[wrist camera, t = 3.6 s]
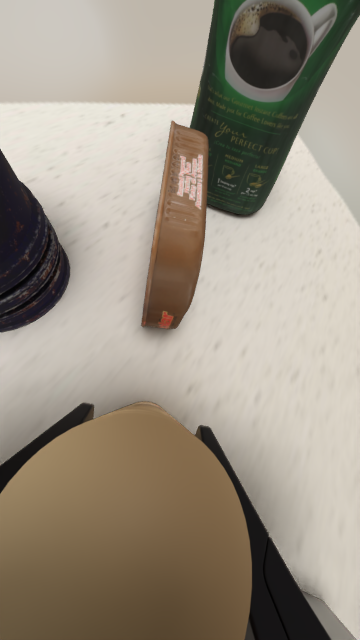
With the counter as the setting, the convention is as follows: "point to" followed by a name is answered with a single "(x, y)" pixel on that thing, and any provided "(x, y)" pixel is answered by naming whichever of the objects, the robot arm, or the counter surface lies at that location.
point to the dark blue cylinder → (27, 255)
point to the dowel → (124, 537)
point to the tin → (178, 229)
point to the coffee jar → (262, 89)
